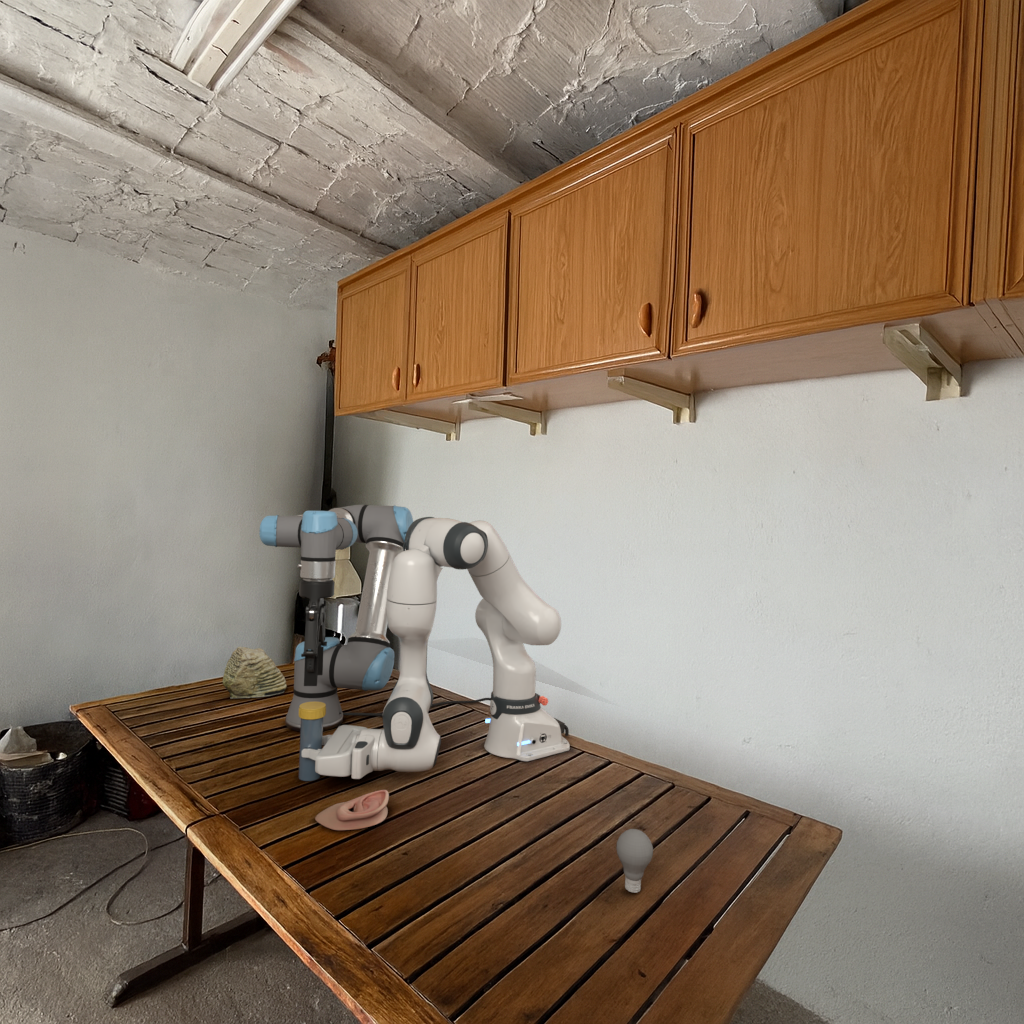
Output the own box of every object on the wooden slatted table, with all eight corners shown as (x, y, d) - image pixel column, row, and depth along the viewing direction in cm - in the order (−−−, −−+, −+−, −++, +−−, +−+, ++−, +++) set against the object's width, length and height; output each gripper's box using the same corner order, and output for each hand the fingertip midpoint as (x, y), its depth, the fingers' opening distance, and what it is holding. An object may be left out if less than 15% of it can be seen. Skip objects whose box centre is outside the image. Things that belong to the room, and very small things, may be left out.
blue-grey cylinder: (294, 779, 141) (296, 709, 141) (305, 770, 146) (308, 702, 146) (314, 782, 140) (316, 711, 140) (325, 773, 145) (327, 705, 145)
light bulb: (610, 879, 108) (613, 822, 108) (644, 879, 109) (647, 822, 109) (619, 902, 102) (622, 840, 102) (655, 901, 103) (658, 840, 103)
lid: (293, 718, 141) (293, 707, 141) (307, 709, 146) (307, 700, 146) (317, 721, 139) (317, 710, 139) (330, 712, 145) (330, 702, 145)
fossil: (218, 695, 195) (220, 647, 195) (278, 685, 208) (279, 640, 207) (228, 703, 189) (230, 653, 188) (289, 692, 201) (290, 645, 201)
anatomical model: (307, 805, 121) (336, 780, 133) (306, 826, 121) (335, 798, 133) (372, 815, 119) (395, 788, 130) (371, 836, 119) (394, 807, 130)
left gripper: (307, 573, 152) (303, 667, 152) (291, 585, 132) (287, 694, 132) (339, 574, 153) (336, 667, 153) (328, 586, 133) (324, 694, 133)
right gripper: (378, 719, 153) (321, 717, 153) (358, 753, 133) (292, 750, 133) (377, 745, 154) (320, 743, 153) (357, 783, 133) (291, 780, 133)
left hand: (313, 679), depth 143 cm, fingers open, 8 cm apart
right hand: (306, 746), depth 143 cm, fingers closed on blue-grey cylinder, 5 cm apart
